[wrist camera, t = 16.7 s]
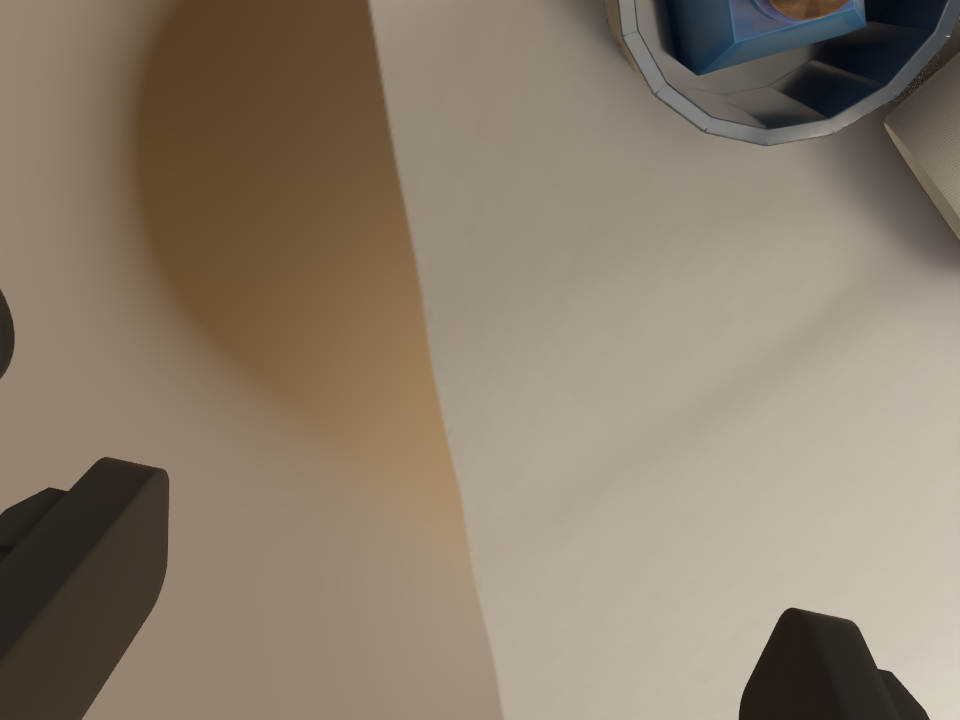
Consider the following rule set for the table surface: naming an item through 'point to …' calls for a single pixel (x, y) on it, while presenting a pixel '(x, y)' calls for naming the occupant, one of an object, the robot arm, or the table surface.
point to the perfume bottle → (754, 28)
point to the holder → (788, 71)
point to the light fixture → (933, 138)
